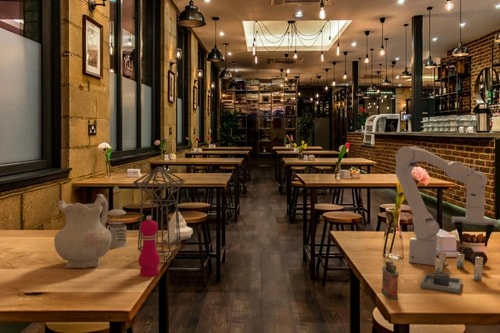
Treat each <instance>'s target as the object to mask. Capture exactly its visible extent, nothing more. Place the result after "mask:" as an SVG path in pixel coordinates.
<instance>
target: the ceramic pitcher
mask: <svg viewBox="0 0 500 333" xmlns="http://www.w3.org/2000/svg"><path fill="white" fill-rule="evenodd" d="M57 204H58V209H59V211H61V212H64V215H65V221H66V223H65V225H64V226H63V228H61V229H59V231H58V232H56V233H55V235H54V238H53V239H54V248H55V251H56V253H57V254H58V256H59V257H61V259H62V260H64V261H67V263H66V264H65V265H64V268H66V269H71V268H72V269H73V268H75V269H76V268H77V269H78V268H79V269H88V268H89V269H90V268H94V267H99V265H100V264H101V261H100V260H99V258H103V257H104V256H105V255H106V254H107V253H108V251H109V249H111V248H110V246H111V240H112V236H111V233H110V231H109V230H108V229H107V227H106V228H105V224H106V222H107V220H108V215H107V214H108V212H109V203H108V200H107V198H106V197H105V194H102V193H98V194H96V199H95V201H94V203H85V204H84V203H80V202H76V203H71V202H70V203H66V202H65V200H63V199H62V200H59V201H57ZM101 213H102V214H101Z"/></svg>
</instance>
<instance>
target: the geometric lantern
mask: <svg viewBox="0 0 500 333" xmlns="http://www.w3.org/2000/svg"><path fill="white" fill-rule="evenodd" d="M158 173H160V175H161V177H162V179H163V180H161V179H156V178H157V176H158ZM172 176H173V177H175V178H177V179H174V178H173V177H172ZM145 177H146V178H145ZM144 178H145V179H144ZM166 178H167V180H168V181H167V180H166ZM142 179H144V180H142ZM141 180H142V181H141ZM139 181H140V182H139ZM150 181H152V183H150ZM185 182H186V180H185V179H183V178H182V177H180V176H178V175H176V174H174V173H172V172H171V171H169V170H167V169H166V168H164V167H162V166H161V167H160V166H157V167H156V168H154V169H153V170H151V171H149V172H148V173H146V174H144V175H143V176H141V177H139V178H137V179H136V180H134V181H133V182H132V184H134V185H135V186H136V187H137V188H138V189H140V191H141V194H140V195H141V196H140V199H141V201H140V211H139V212H140V214H139V224H138V225H139V227H138V236H137V237H138V238H137V239H138V240H137V250H138V251H139V252H141V251H142V248H143V239H142V233H141V231H140V225H141V223H142V222H143V205H144V206H145V205H146V206H147V205H148V206H151V212H150V213H151V214H150V216H151V217H152V219H151V220H153V218H154V217H153V216H154V215H153V213H154V206H156V216H155V217H156V220H155V222H156V223H157V224H158V225H159V221H158V220H159V207H160V211H161V212H160V213H161V214H160V215H161V216H160V218H161V220H160V222H161V241H160V242H159V241H158V239H159V238H158V237H159V236H158V235H159V234H158V233H159V232H158V231H159V230H158V231H157V232H156V234H157V236H156V237H157V238H156V239H155V245H156V249H157V248H158V245H161V250H157V251H158V254H159V257H160V259H161V258H162V259H163V261H160V264H167V263H169V262H170V261H172V260H173V259H174V258H175V257H174V253H175V252H177V251H178V250H179V249H180V248H181V247H182V243H181V242H182V240H181V239H180V227H179V215H178V211H179V206H178V204H179V191H180V188H181V187H182V185H183V184H184V183H185ZM143 186H144V188H143ZM149 186H151V189H152V190H151V191H148V187H149ZM167 186H169V187H167ZM154 187H158V188H156V189H154ZM176 187H177V188H176ZM162 188H163V190H162V191H161V193H160V194H159V196H158V194H157V193H156V192H157V191H159V190H160V189H162ZM165 190H170V194H169V196H168V197H167V199H160V198H161V196H162V195H163V193H164V191H165ZM173 193H176V198H175V196H174V194H173ZM143 194H144V195H143ZM146 194H147V195H148V197H149V198H150V200H146V201H144V199H145V196H146ZM151 194H154V195H155V197H156V198H157V199H153V198H152V197H151ZM171 195H172V198H173V200H172V199H170V197H171ZM149 202H151V203H149ZM154 202H156V203H154ZM163 202H165V203H164V204H163ZM168 202H171V203H169V204H167V203H168ZM159 203H160V204H159ZM171 205H175V212H176V234H177V242H174V243H170V239H169V208H168V207H169V206H171ZM163 207H165V211H166V213H165V214H166V223H167V224H166V225H167V226H166V227H167V232H168V242H164V215H163V214H164V213H163V212H164V211H163V209H164V208H163ZM178 232H179V241H178ZM164 245H168V250H164ZM171 245H172V246H175V247H173V248H172V249H171ZM165 254H167V255H165ZM168 257H170V259H168Z"/></svg>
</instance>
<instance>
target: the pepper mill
mask: <svg viewBox="0 0 500 333" xmlns="http://www.w3.org/2000/svg"><path fill="white" fill-rule="evenodd" d="M151 219H152V220H151ZM157 231H159V223H158V224H157V223H156V220H153V217H151V215H147V216H146V218H145V220H144V221H142V223H141V225H140V233H142V246H143V248H142V251H140V254H139V256H138V265H139V266H140V267H141V268H139V275H140V276H141V277H146V278H147V277H148V278H149V277H155V276H158V275H159V273H160V270H159V265H160V264H161V263H160V262H161V257H159V255H160V253H158V251H159V250H157V249H156V244H155V242H156V238H157V237H156V236H157V234H156V232H157Z"/></svg>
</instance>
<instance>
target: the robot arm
mask: <svg viewBox="0 0 500 333" xmlns="http://www.w3.org/2000/svg"><path fill="white" fill-rule="evenodd" d="M394 158H395V171H394V172H395V175H396V178H397V181H398V182H399V185H400V186H401V190H402V191H403V192H402V193H403V194H404V197H405V199H406V202H407V204H408V206H409V208H410V210H411V214H412V216H413V217H412V225H413V233H414V235H415V237H410V239H409V248H408V249H409V251H408V252H409V253H408V263H413V264H420V265H427V266H435V260H438V259H439V258H438V259H437V242H438V240H437V239H438V238H437V234H439V232H440V225H439V223H438V221H436V220H435V218H434V216H433V215H432V214H431V213H430V212H429V211H428V209H427V206H426V205H425V202H424V199H423V198H422V195H421V193H420V190H419V188H418V186H417V184H416V183H417V182H416V181H415V179H414V177H413V174H412V172H413V170H414V168H415V166H416V165H417V164H418V163H419V162H426V163H427V164H429V165H431V166H435V167H437V168H439V169H441V170H444V171H445V174H446V176H448V177H450V178H452V179H453V180H456V181H458V182H460V183H462V184H464V185H465V186H466V198H465V216H451V224H454V227H455V229H456V232H457V234H458V239H459V244H460V245H463V244H464V243H463V242H464V241H463V240H464V238H463V237H464V236H463V232H464V231H463V230H464V225H465V224H466V225H467V224H468V225H477V226H478V225H479V226H485V239H484V247H486V248H487V247H488V242H489V239H490V237H491V236H492V233H493V232H494V230H495V228H497V227H499V220H497V219H489V218H484V217H485V198H486V193H485V191H486V189H485V188H486V187H485V186H486V185H487V183H488V177H487V176H488V175H486V174H485V173H484V172H483V171H482V170H481V171H480V170H476V169H475V168H474V167H469V166H466V165H464V164H463V161H459V160H458V161H457V160H454V161H448V160H446V159H444V158H442V157H440V156H438V155H436V154H434V153H433V152H430V151H429V150H427V149H425V148H422V147H421V148H420V147H419V146H413V145H412V146H401V147H400V148H399V149H397V152H396V154H395V156H394Z"/></svg>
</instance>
